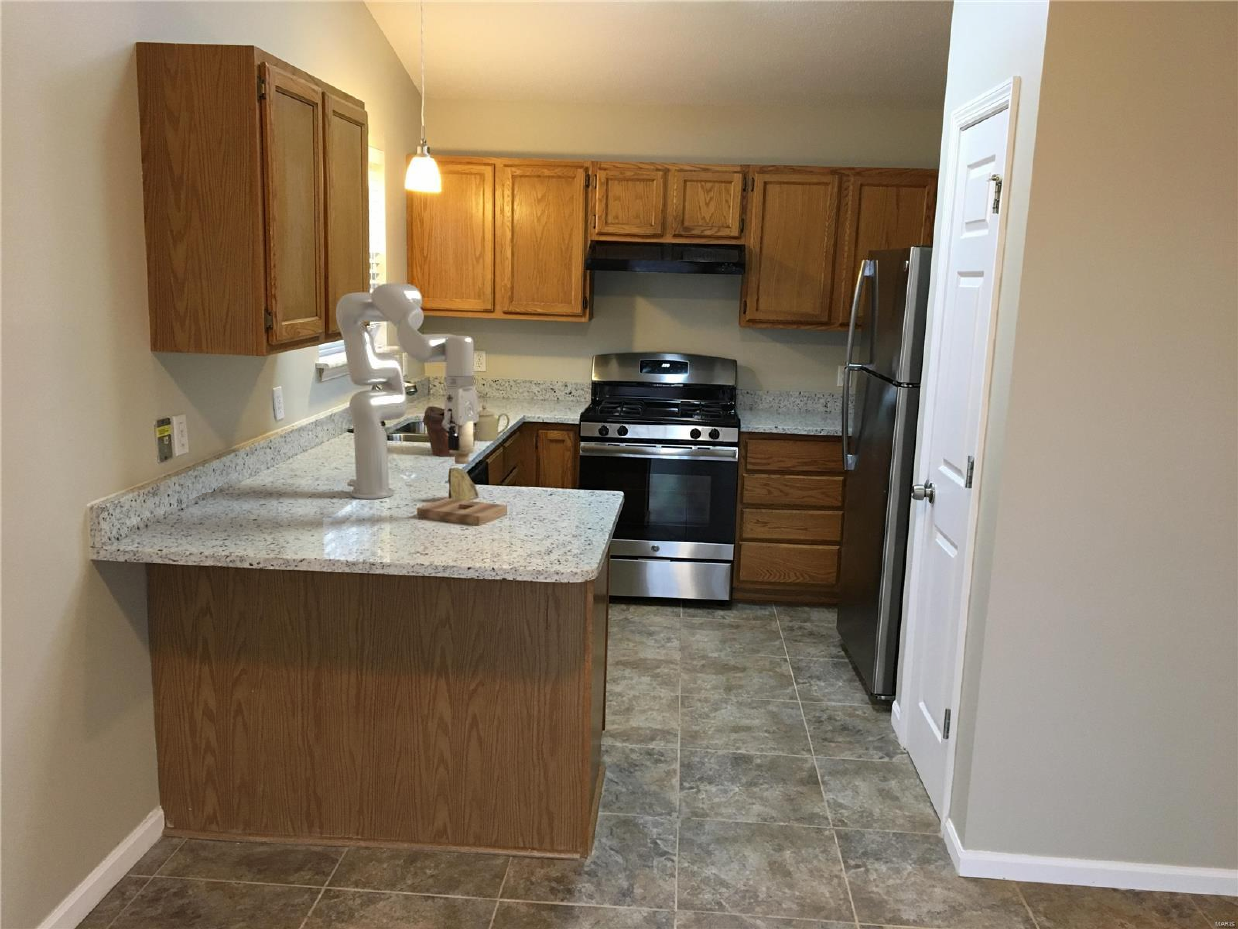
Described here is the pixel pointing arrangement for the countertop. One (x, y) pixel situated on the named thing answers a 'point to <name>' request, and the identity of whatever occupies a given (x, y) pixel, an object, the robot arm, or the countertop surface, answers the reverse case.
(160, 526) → the countertop surface
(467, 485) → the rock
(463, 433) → the peg
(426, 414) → the brown tapered pot
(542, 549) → the countertop surface
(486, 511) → the board
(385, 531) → the countertop surface
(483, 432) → the sugar bowl
